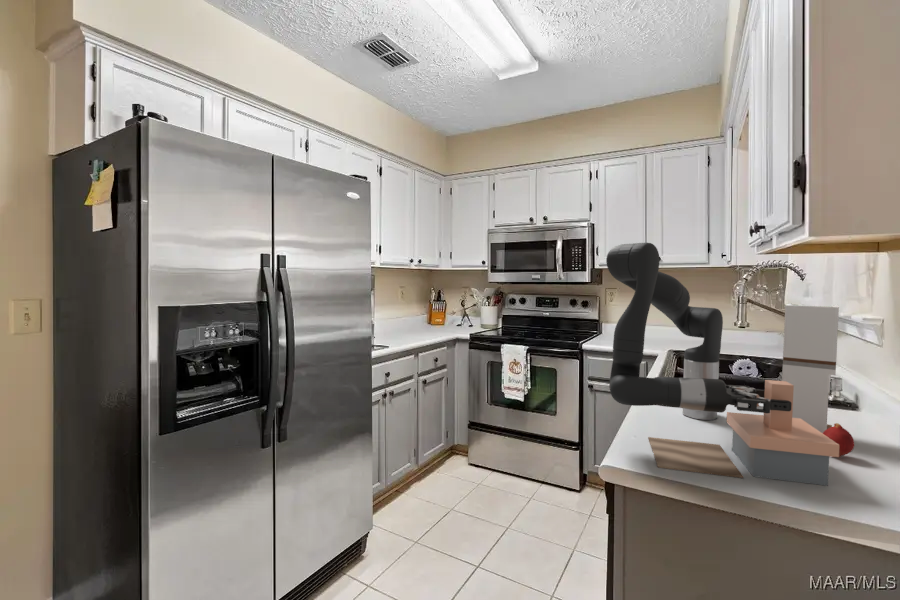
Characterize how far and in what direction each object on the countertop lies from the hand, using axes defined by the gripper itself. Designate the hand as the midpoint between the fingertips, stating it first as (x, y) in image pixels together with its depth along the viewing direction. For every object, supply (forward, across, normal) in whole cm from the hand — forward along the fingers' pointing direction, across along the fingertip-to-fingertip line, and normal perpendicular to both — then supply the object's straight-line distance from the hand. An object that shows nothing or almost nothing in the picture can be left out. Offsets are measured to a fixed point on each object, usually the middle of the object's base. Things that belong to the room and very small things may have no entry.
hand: (782, 400), depth 97 cm
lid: (-1, 0, +8) cm, 9 cm away
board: (-18, 0, +15) cm, 23 cm away
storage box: (-1, 0, +15) cm, 15 cm away
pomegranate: (+15, +11, +15) cm, 24 cm away
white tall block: (+15, +27, +15) cm, 35 cm away
